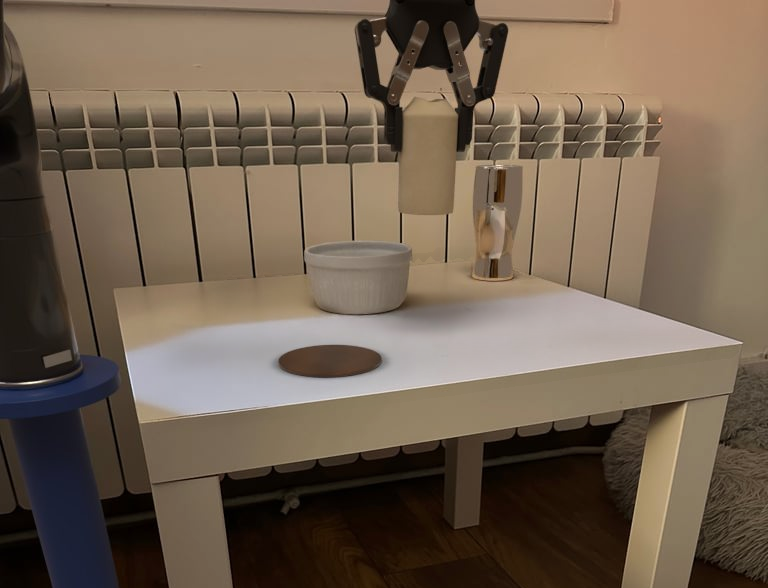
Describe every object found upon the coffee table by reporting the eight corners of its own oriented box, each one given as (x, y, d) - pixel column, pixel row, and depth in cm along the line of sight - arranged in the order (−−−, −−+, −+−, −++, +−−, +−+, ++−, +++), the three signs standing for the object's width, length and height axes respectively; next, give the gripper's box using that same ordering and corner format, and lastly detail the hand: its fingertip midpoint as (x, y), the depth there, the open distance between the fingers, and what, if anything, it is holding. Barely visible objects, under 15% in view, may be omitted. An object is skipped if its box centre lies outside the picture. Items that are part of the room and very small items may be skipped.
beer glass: (459, 277, 109) (463, 166, 101) (489, 271, 113) (495, 164, 106) (495, 283, 104) (503, 168, 97) (525, 277, 108) (534, 165, 101)
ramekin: (310, 319, 86) (307, 258, 82) (304, 296, 97) (300, 241, 94) (420, 314, 87) (421, 254, 84) (401, 292, 99) (401, 238, 96)
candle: (413, 216, 69) (416, 95, 64) (388, 210, 73) (390, 96, 69) (463, 214, 71) (470, 96, 66) (437, 209, 75) (441, 98, 71)
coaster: (280, 380, 66) (280, 376, 65) (276, 350, 74) (276, 347, 74) (389, 374, 67) (389, 370, 67) (373, 345, 76) (373, 342, 76)
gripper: (502, -57, 66) (488, 151, 74) (345, -65, 64) (348, 150, 72) (530, -77, 59) (511, 153, 67) (356, -86, 57) (358, 152, 65)
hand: (427, 150), depth 70 cm, fingers closed on candle, 5 cm apart
